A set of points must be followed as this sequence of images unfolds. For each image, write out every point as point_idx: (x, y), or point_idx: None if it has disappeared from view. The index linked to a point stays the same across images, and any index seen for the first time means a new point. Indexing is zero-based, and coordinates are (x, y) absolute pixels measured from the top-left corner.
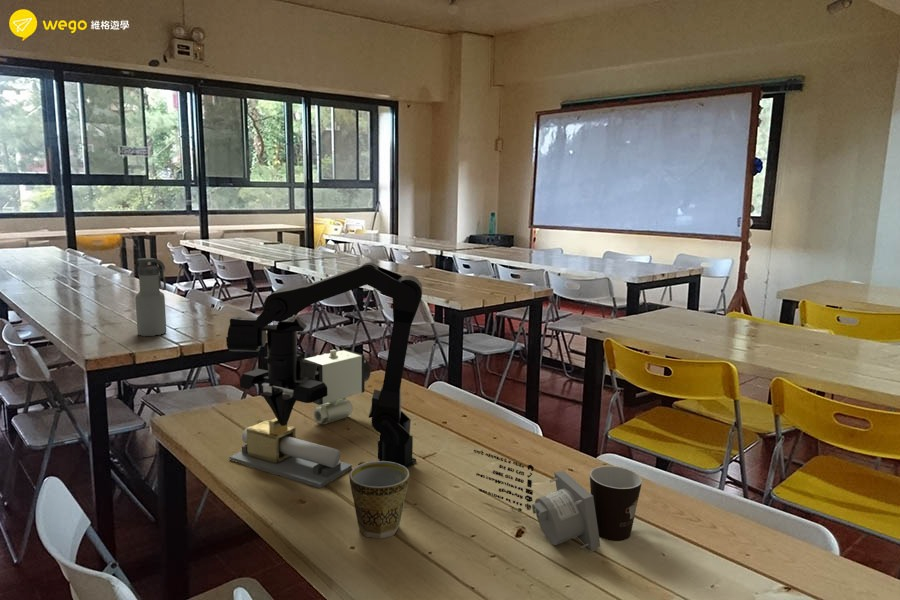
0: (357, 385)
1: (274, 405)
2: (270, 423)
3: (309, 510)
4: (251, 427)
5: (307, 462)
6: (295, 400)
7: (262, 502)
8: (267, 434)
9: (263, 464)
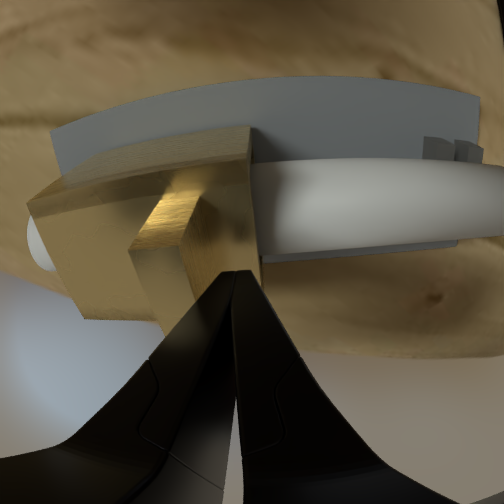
0: None
1: (223, 480)
2: None
3: (457, 309)
4: (81, 304)
5: (348, 152)
6: (377, 468)
7: (362, 341)
8: None
9: None
